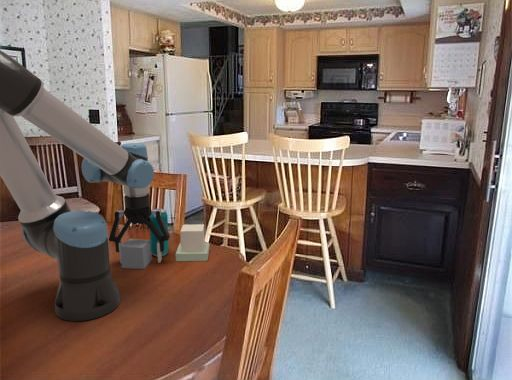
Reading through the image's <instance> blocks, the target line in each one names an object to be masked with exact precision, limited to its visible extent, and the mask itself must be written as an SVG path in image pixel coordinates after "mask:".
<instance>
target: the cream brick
mask: <svg viewBox="0 0 512 380" xmlns="http://www.w3.org/2000/svg"><path fill="white" fill-rule="evenodd" d="M205 238H206V237H205V224H203V223H201V224H200V223H199V224H198V223H197V224H183V225H182V226H181V229H180V243H181V252H203V250H204V245H205V243H206V241H205Z"/></svg>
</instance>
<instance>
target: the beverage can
mask: <svg viewBox="0 0 512 380" xmlns="http://www.w3.org/2000/svg"><path fill="white" fill-rule="evenodd" d="M158 209H160V210H161V217H162V219H163V221H164V223H165V226H166V228H167V230H168V231H169V228H168V227H169V224H168V223H169V222H168V221H169V219H168V213H167V209H165V208H153V209H152V210H158ZM149 218H150V219H151V220H152V222H153V224H154V225H155V226H156V228H157V229H158V230H159V231H160V233H161V234H162V232H161V229H160V227H159V225H158V222H157V220H156V217H154V215H153V214H151V216H150V217H149ZM162 235H163V234H162ZM149 237H150V238H149V240H151V252H152V255H153V256H154V257H157V258H158V256H157V242H158V239H157V238H156V237H155V235H154V234H153V233H152V231H151V230H150V229H149ZM169 245H170V244H169V240H167V241H164V251H163V252H161V254H162V257H165V256H166V255H167V254H168V253H169V252H168V251H169V250H170V249H169Z"/></svg>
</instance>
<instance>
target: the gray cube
mask: <svg viewBox="0 0 512 380" xmlns="http://www.w3.org/2000/svg"><path fill="white" fill-rule="evenodd" d="M123 243H124V244H123V245H122V246H121V247H120V248H121V262H122V263H121V268H122V269H135V270H145V269H146V268H147V266H149V264H150V263H151V262H152V261H153V256H152V255H153V254H152V252H151V240H150V239H140V238H139V239H138V238H137V239H136V238H129V239H128V240H126V242H123Z"/></svg>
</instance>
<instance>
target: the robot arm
mask: <svg viewBox="0 0 512 380" xmlns="http://www.w3.org/2000/svg"><path fill="white" fill-rule="evenodd" d="M15 117H22V118H23V119H25V120H26V121H28V122H29V123H30V124H32V125H34V127H36V128H38V129H40V130H41V131H43V132H44V133H45V134H47V135H48V136H51V137H52V138H53V139H55V140H56V141H58V142H60V143H61V144H63V145H64V146H66V147H67V148H69V149H70V150H71V151H73V152H75V153H76V154H77V155H79V156H81V157H82V158H83V160H82V162H81V172H82V173H81V174H82V176H83V178H84V180H85V181H87V182H88V183H90V184H91V183H92V184H93V183H101V182H108V183H113V184H116V185H121V186H123V194H124V196H123V199H124V201H123V202H124V210H120V209H117V210H116V211H114V221H113V223H112V227H111V231H110V233H109V231H108V226H107V221H106V220H105V218H104V216H102V215H101V214H99V213H97V212H94V211H89V210H88V211H85V210H72V211H71V209H70V206H69V205H68V203H67V201H66V199H65V198H64V197H63V196H62V195H61V196H60V195H56V194H55V192H54V190H53V188H52V186H51V185H50V182H49V181H48V179H47V177H46V175H45V173H44V172H43V170H42V168H41V166H40V163H39V162H38V159H37V158H36V156H35V154H34V153H33V151H32V149H31V147H30V145H29V143H28V141H27V140H26V138H25V135H24V134H23V132H22V130H21V128H20V127H19V124H18V123H17V122H18V121H16V119H15ZM0 177H1V179H2V181H3V182H4V185H5V186H6V188H7V189H8V192H9V193H10V195H11V196H12V198H13V200H14V201H15V203H16V205H17V207H18V208H19V210H20V212H19V214H18V217H17V219H18V222H19V223H20V225H21V234H22V237H23V239H24V241H25V242H26V244H28V245H29V246H30V248H32V249H33V250H35V251H37V252H39V253H42V254H45V255H47V256H49V257H50V258H53V259H54V260H56V261H57V265H58V273H59V274H58V275H59V285H58V289H57V292H56V296H55V300H54V313H55V315H56V317H58V318H59V319H62V320H65V321H69V322H70V321H71V322H82V321H89V320H94V319H97V318H101V317H104V316H107V315H108V314H110V313H111V312H113V311H114V310H116V309H117V308H118V307H119V305H120V302H121V299H120V297H121V296H120V292H119V288H118V287H117V284H116V283H115V280H114V278H113V276H112V274H111V265H110V264H111V263H110V249H109V242H113V243H115V251H116V253H118V254H119V263H120V264H122V262H121V248H120V247H121V246H122V245H123V244H124V243H125V242H124V240H122V238H124V235H125V233H126V232H127V231H128V229H129V227H130V226H131V224H132V225H137V224H139V225H143V224H144V225H145V226H146V227H148V229H149V231H150V230H151V231H152V233H153V234H154V235H155V237H156V238H157V239H158V242H157V256H158V257H157V256H156V257H157V263H159V264H160V263H162V257H163V256H162V254H161V252H163V251H164V241H167V240H168V241H169V240H170V233H169V229H168V230H167V228H166V226H165V223H164V221H163V219H162V217H161V210H160V209H161V208H157V209H158V210H153V209H152V208H151V196H150V194H149V193H150V185H151V184H152V182H153V180H154V178H155V169H154V167H153V165H152V163H150V162H149V157H148V149H147V145H146V144H144V143H141V142H129V143H123V144H121V145H119V144H118V143H117V142H115V141H114V140H113V139H111V138H110V137H109V136H107V135H106V133H104V132H102V131H101V130H99V128H97V127H96V126H94V125H93V124H92V123H90V122H89V121H87V119H85V118H84V117H83V116H82V115H80V114H78V113H77V112H76V111H75V110H73V109H72V108H71V107H70V106H68V105H66V103H64V102H63V101H62V100H61V99H59V98H57V97H56V96H55V95H53V94H52V93H51V92H50V91H48V90H47V89H46V88H44V83H43V80H41V79H40V78H39V77H38V76H36V75H35V74H34V73H33V72H31V70H29V69H28V68H26V67H25V66H23V65H22V63H20V62H18V61H17V60H16V59H14V58H13V57H11V56H10V55H8V54H7V53H6V52H4V51H2V50H1V49H0ZM151 214H153V215H154V217H156V220H157V222H158V225H159V227H160V229H161V232H162V234H163V235H162V234H161V233H160V231H159V230H158V229H157V228H156V226H155V225H154V224H153V222H152V220H151V219H150V218H149V217H150V216H151ZM123 216H124V217H125V218H126V219H127V220H126V222H125V224H124V226H122V229H121V230H120V232H119V234H118V235H117V232H118V228H119V226H120V225H119V224H120V223H121V219H122V217H123ZM116 235H117V236H116Z"/></svg>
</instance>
